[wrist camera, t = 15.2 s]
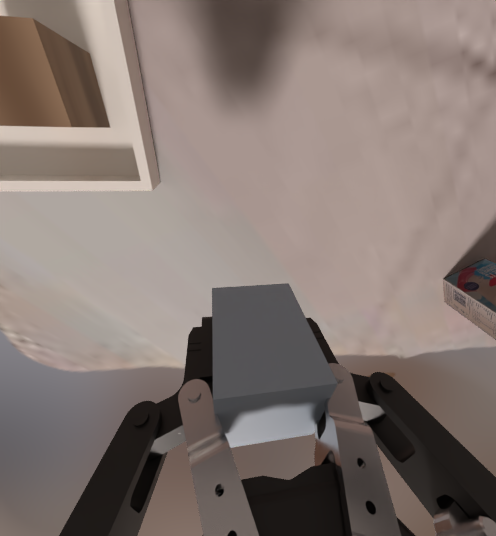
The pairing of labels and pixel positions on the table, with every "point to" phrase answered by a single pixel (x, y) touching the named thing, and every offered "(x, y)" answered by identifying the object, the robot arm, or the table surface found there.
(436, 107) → the table surface
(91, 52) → the tray
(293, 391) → the slate block
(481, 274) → the printed cardboard box
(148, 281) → the table surface
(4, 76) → the walnut block
